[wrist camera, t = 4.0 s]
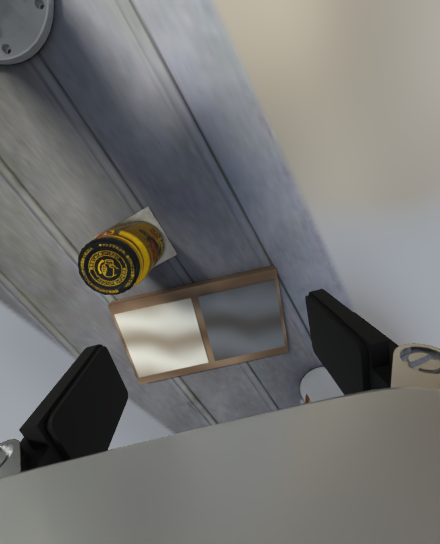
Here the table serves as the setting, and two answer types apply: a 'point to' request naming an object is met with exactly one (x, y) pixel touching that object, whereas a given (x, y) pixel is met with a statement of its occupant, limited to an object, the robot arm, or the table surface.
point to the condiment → (124, 254)
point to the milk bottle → (318, 386)
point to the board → (202, 325)
